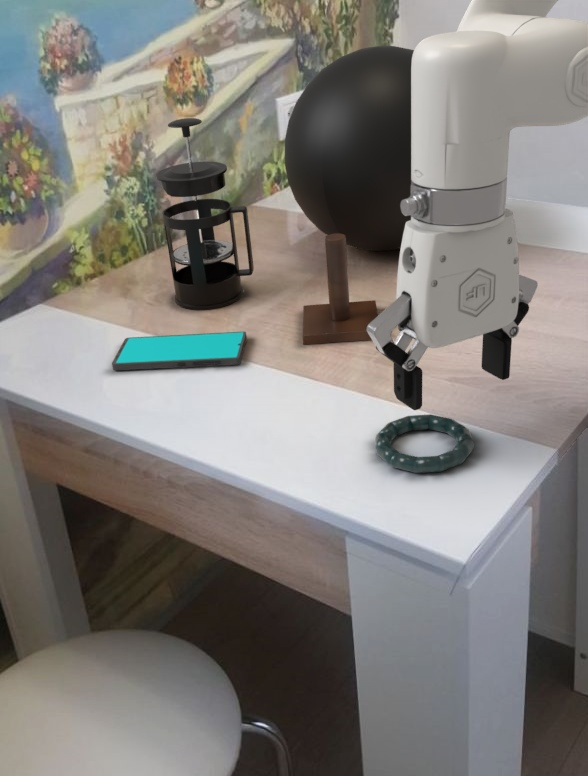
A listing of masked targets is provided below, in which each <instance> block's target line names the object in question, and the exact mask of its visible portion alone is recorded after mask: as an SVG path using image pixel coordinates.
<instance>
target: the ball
mask: <svg viewBox="0 0 588 776" xmlns="http://www.w3.org/2000/svg"><path fill="white" fill-rule="evenodd" d="M413 52H414V49H409V48H406V47H401V46H395V45H377V46H376V45H375V46H369V47H363V48H360V49H357V50H355V51H352V52H349V53H347V54H344V55H342V56H340V57H338V58H337V59H335V60H334V61H332V62H331V63H329V64H328V65H326V66H325V67H323V68H322V69H321V70H320V71H319V72H318V73H317V74H316V75H315V77H313V78H312V79H311V80H310V82H308V83H307V85H306V86H305V88H304V89H303V91H302V92H301V94H300V96H299V97H298V99H297V100H296V102H295V104H294V107H293V109H292V111H291V114H290V112H288V113H287V114H288V115H290V117H289V119H288V122H287V127H286V133H285V137H284V167H285V173H286V178H287V183H288V185H289V188H290V190H291V193H292V195H293V198H294V200H295V202H296V203H297V206H299V208H300V210H302V212H303V214H304V215H305V216H306V218H307V219H308V221H310V222H311V223H312V224H313V225H314V227H316V228H317V229H318V230H319V231H320V232H322V233H323V234H325V235H326V236H327V235H330V234H336V233H339V234H344V235H345V236H346V246H349V247H351V248H355V249H359V250H362V251H363V250H364V251H373V252H374V251H375V252H377V251H378V252H379V251H381V252H382V251H383V252H384V251H391V250H398V249H401V243H402V237H403V233H404V228H405V224H406V222H407V221H410V220H411V215H409V216H404V215H403V214H402V212H401V208H400V203H401V201H402V200H403V199H407V198H409V197H410V196H411V63H412V55H413Z"/></svg>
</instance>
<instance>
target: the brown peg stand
mask: <svg viewBox="0 0 588 776" xmlns="http://www.w3.org/2000/svg"><path fill="white" fill-rule="evenodd" d="M324 246H325V247H324V248H325V261H326V275H327V291H328V292H327V293H328V303H321V304H320V303H319V304H306V305H303V306H302V307H303V309H302V345H316V344H317V345H319V344H331V343H345V342H346V343H347V342H356V341H357V342H359V341H372V339H371V337H370V336H369V334H368V332H367V326H368V324H369V323H370V322H371V321H373V320H374V319H375V318H376V317H377V316H378V315H379V314H378V309H377V302H376V300H375V299H374V300H361V301H350V289H349V271H348V270H349V269H348V255H347V254H348V253H347V245H346V236H345V235H344V234H339V233H336V234H330V235H327V234H326V235H325V236H324Z"/></svg>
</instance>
